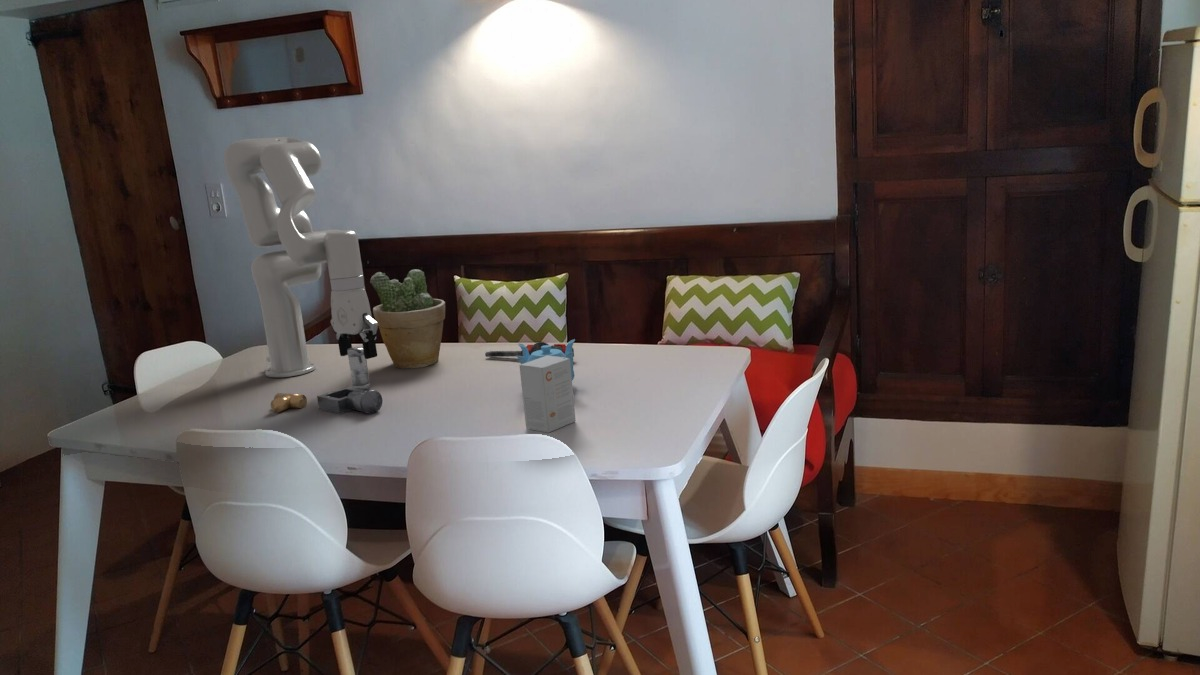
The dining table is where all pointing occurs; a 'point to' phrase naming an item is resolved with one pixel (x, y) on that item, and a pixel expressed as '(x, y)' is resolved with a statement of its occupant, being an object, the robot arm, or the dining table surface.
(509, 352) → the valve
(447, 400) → the dining table surface
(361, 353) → the silver capped cylinder
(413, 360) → the potted plant
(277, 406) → the bronze tee
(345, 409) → the grey framed piece
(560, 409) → the small box
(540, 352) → the teapot
